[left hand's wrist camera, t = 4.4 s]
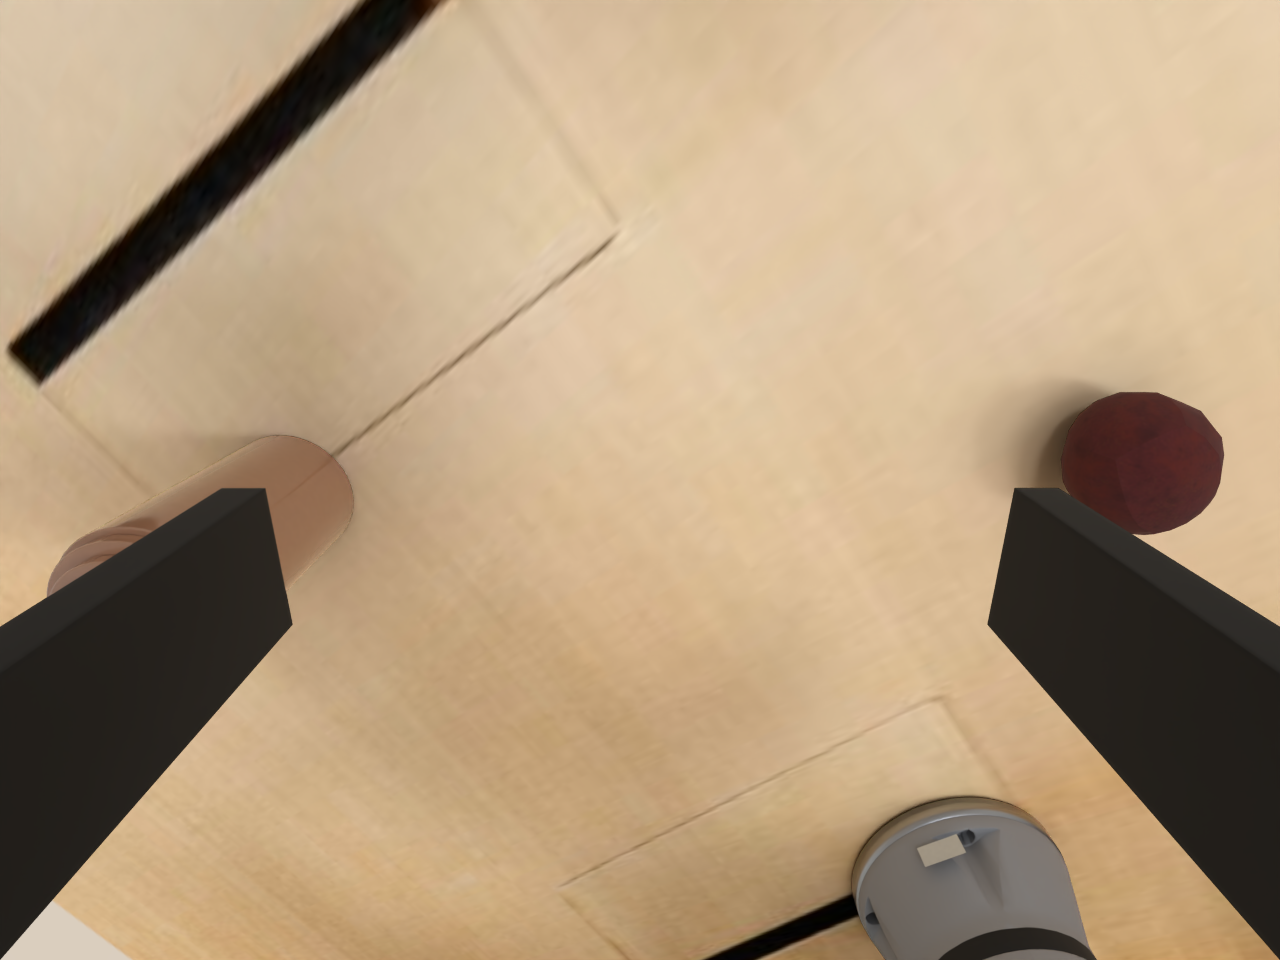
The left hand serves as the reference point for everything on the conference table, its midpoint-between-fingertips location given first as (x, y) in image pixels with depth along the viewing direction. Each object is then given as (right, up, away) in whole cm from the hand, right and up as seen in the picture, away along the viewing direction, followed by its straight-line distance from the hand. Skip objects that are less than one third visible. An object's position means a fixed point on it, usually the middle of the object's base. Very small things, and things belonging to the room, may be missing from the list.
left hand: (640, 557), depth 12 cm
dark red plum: (+27, +4, +29) cm, 39 cm away
